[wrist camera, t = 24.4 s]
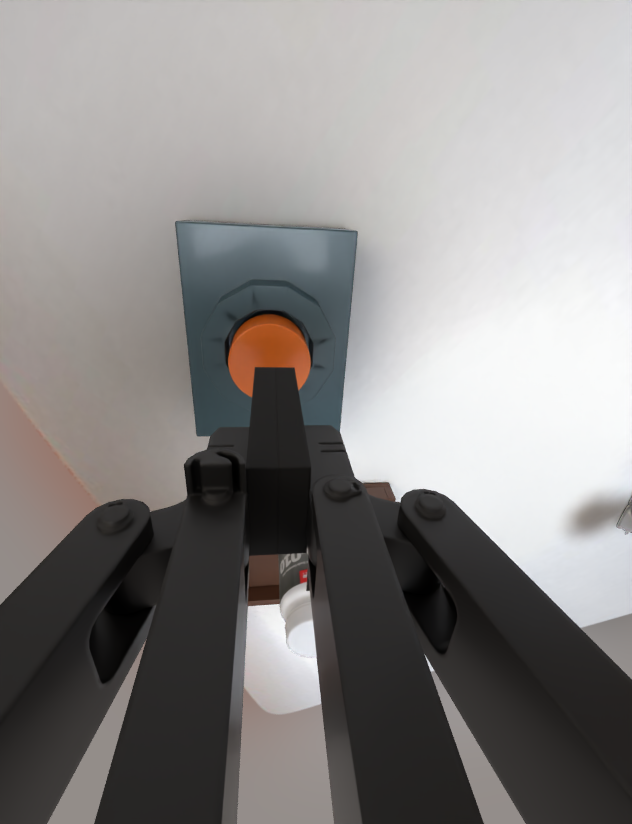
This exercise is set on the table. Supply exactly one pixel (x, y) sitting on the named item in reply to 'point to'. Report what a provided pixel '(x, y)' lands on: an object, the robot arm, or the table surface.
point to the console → (264, 309)
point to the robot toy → (626, 519)
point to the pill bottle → (296, 604)
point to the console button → (267, 350)
